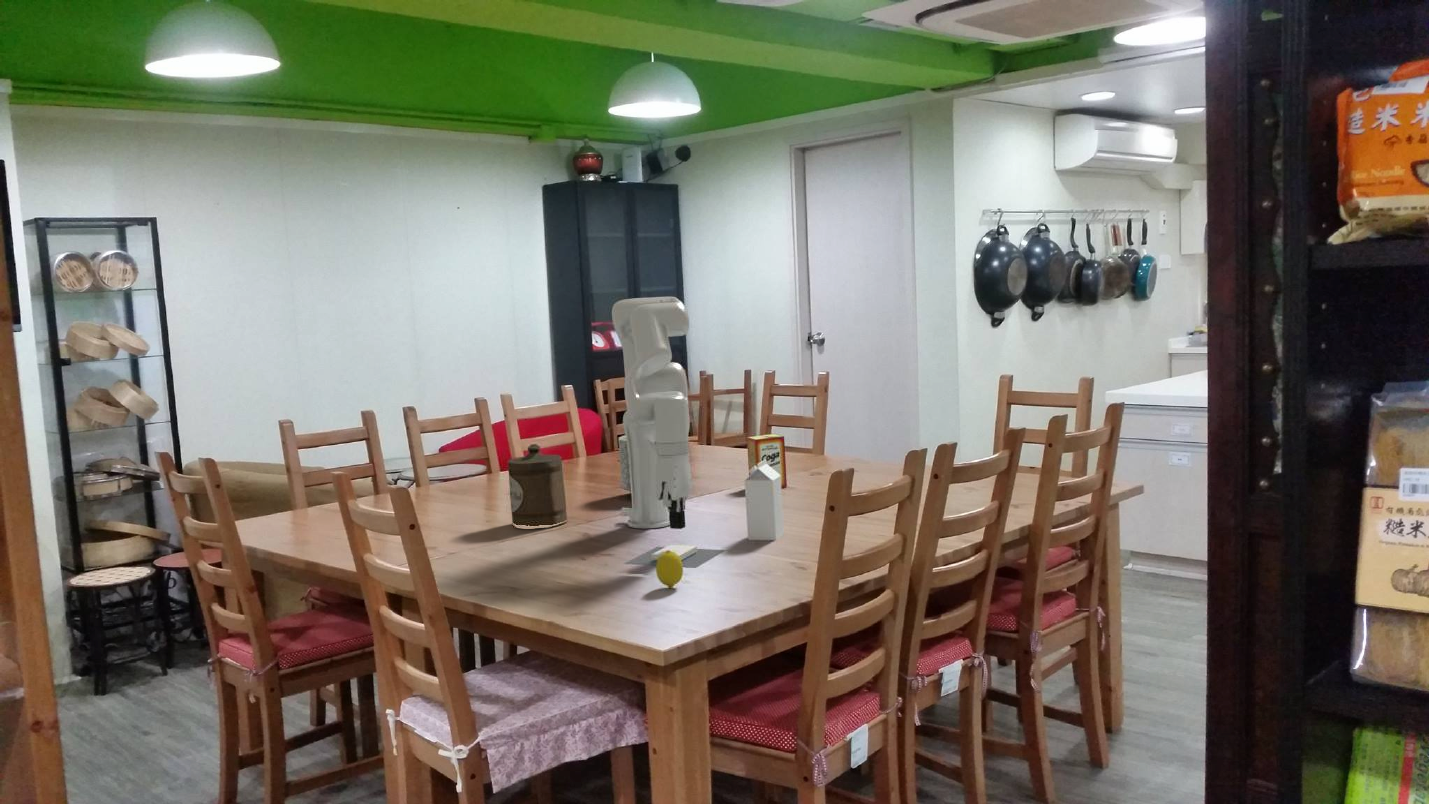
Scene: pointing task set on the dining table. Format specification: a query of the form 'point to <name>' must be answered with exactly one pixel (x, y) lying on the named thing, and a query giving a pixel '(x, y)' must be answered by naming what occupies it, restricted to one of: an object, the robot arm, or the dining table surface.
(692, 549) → the tile
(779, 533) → the milk carton
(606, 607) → the dining table surface
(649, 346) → the robot arm
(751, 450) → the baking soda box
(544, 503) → the wooden container
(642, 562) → the mat
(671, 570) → the lemon
